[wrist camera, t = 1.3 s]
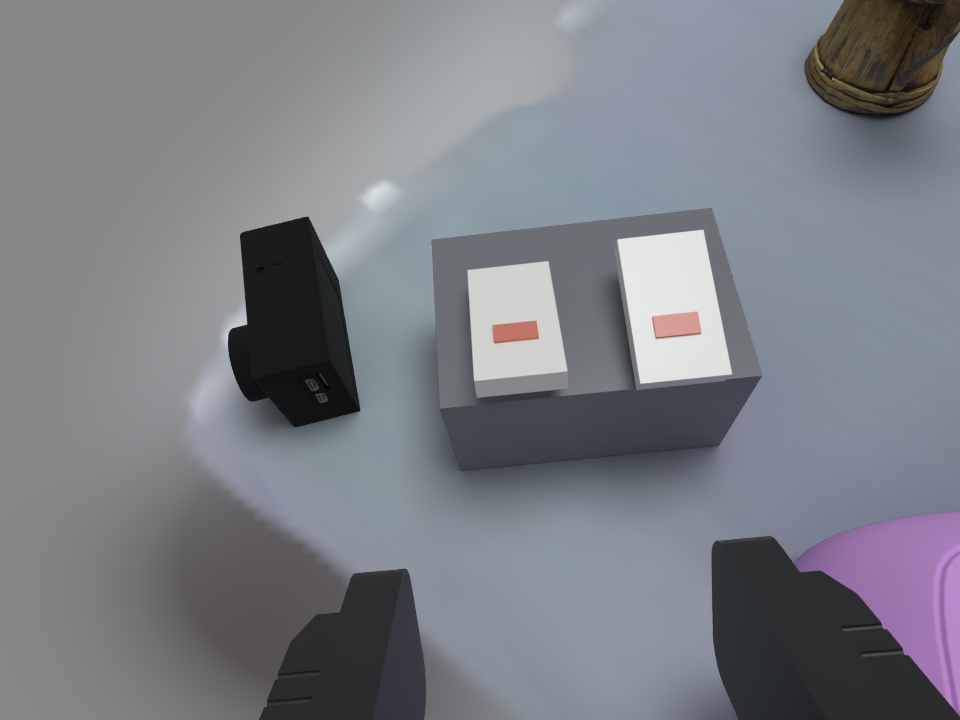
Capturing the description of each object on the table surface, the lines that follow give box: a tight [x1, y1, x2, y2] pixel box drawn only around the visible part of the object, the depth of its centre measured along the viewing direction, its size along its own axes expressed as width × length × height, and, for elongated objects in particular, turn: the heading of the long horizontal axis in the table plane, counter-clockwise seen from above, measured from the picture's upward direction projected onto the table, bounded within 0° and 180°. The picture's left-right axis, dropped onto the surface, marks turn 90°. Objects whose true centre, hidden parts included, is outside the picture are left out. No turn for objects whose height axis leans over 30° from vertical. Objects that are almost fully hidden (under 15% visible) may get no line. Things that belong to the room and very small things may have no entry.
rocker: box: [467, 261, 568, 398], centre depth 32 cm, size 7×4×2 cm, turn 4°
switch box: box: [432, 208, 762, 471], centre depth 38 cm, size 10×15×9 cm, turn 94°
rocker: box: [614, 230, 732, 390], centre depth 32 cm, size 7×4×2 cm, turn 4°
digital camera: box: [228, 217, 360, 427], centre depth 42 cm, size 10×5×7 cm, turn 13°
